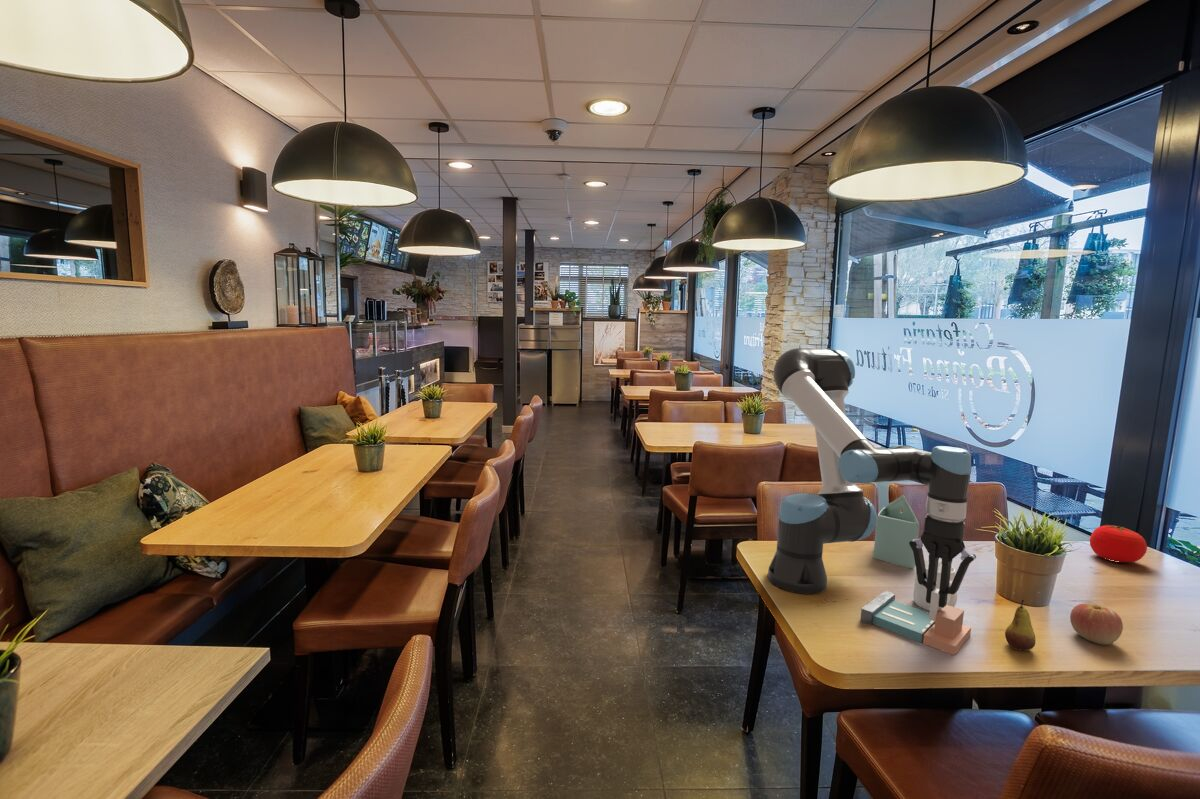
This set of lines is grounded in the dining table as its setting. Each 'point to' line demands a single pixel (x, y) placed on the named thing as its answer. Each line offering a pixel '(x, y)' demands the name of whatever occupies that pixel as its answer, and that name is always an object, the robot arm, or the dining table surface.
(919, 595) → the mug
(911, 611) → the striped teal tile
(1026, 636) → the fruit
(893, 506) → the pale teal hollow box
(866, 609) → the grey end rail
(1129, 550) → the tomato
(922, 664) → the dining table surface
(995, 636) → the dining table surface
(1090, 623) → the apple
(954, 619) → the stub
